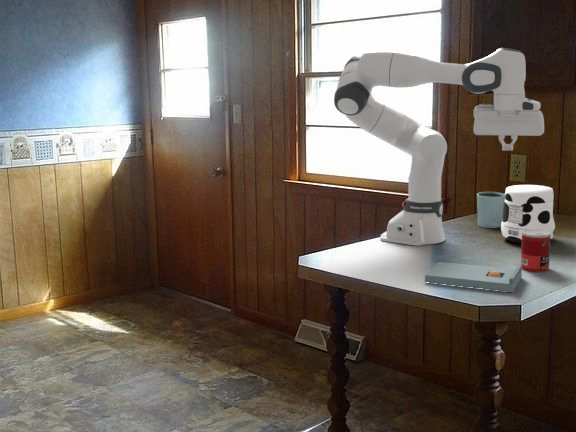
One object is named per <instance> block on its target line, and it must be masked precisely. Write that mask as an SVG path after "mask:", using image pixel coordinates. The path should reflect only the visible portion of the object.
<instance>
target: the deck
mask: <svg viewBox="0 0 576 432" xmlns="http://www.w3.org/2000/svg"><path fill="white" fill-rule="evenodd" d="M492 271H497V272H499V273H500V275H501V278H500V277H490V276H488V275H489V273H490V272H492ZM522 276H523V269H522V265H521V263H520V264H517V266H516V268H507V267H497V266H495V267H494V266H488V265H487V266H486V265H477V264H466V263H457V262H455V263H454V262H446V261H438V262H437V263H435V265H434V266H433V267H432V268H430V269H429V270H428V271H427V272H426V273H425V275H424V283H425V282H429V283H437V284H446V285H455V286H463V287H473V288H483V289H489V290H498V291H506V292H513V291H514V292H515V290H516V289H517V287H518V286H519V284H520V282H521V279H522ZM516 286H517V287H516ZM515 288H516V289H515ZM506 292H505V293H506ZM514 292H513V293H514Z"/></svg>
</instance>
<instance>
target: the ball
mask: <svg viewBox="0 0 576 432" xmlns="http://www.w3.org/2000/svg"><path fill="white" fill-rule="evenodd" d="M488 276H490V277H500V278H501V275H500V273H499V272H497V271H492V272H490V273H489V275H488Z"/></svg>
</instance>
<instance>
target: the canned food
mask: <svg viewBox="0 0 576 432" xmlns="http://www.w3.org/2000/svg"><path fill="white" fill-rule="evenodd" d="M520 245H521V250H520V251H521V252H520V254H521V255H520V265H522V270H525V271H526V272H527V271H528V272H532V273H533V272H534V273H542V272H546V271H548V270H549V267H550V255H551V254H550V252H551V240H550V232H547V231H544V230H525V231H523V232H522V243H521V244H520Z"/></svg>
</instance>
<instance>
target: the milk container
mask: <svg viewBox="0 0 576 432" xmlns="http://www.w3.org/2000/svg"><path fill="white" fill-rule="evenodd" d="M553 189H554V188H553V187H550V186H545V185H538V184H517V185H516V184H515V185H511V186H507V187H506V188H505V192H504V194H505V201H504V210H503V217H502V223H501V227H500V230H501V235H502V237H503V238H504V239H506V240H507V241H510V242H513V243H519V244H522V232H523V231H525V230H544V231H547V232H550V241H551V240H552V239H553V238H554V236H555V230H556V223H555V220H554V213H553V211H554V197H555V196H554V190H553Z"/></svg>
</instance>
